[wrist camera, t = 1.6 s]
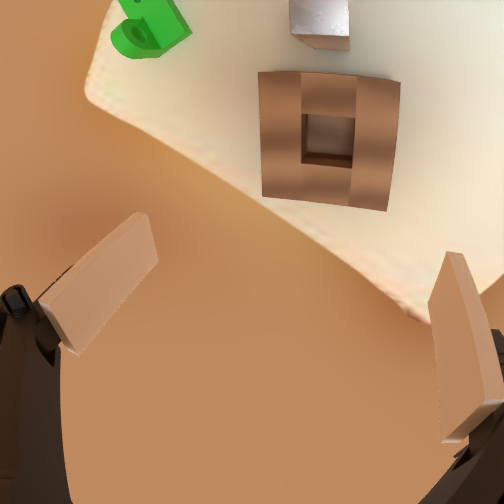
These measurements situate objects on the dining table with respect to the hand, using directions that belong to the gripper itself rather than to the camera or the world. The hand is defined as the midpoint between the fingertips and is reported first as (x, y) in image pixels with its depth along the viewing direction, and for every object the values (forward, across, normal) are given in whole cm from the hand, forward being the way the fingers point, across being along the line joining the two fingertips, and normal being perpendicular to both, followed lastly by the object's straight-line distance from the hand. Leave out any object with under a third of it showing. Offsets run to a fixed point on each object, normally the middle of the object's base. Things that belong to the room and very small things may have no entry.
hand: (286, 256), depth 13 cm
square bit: (+27, 0, +12) cm, 29 cm away
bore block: (+27, 0, 0) cm, 27 cm away
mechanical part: (+27, -22, +17) cm, 39 cm away
